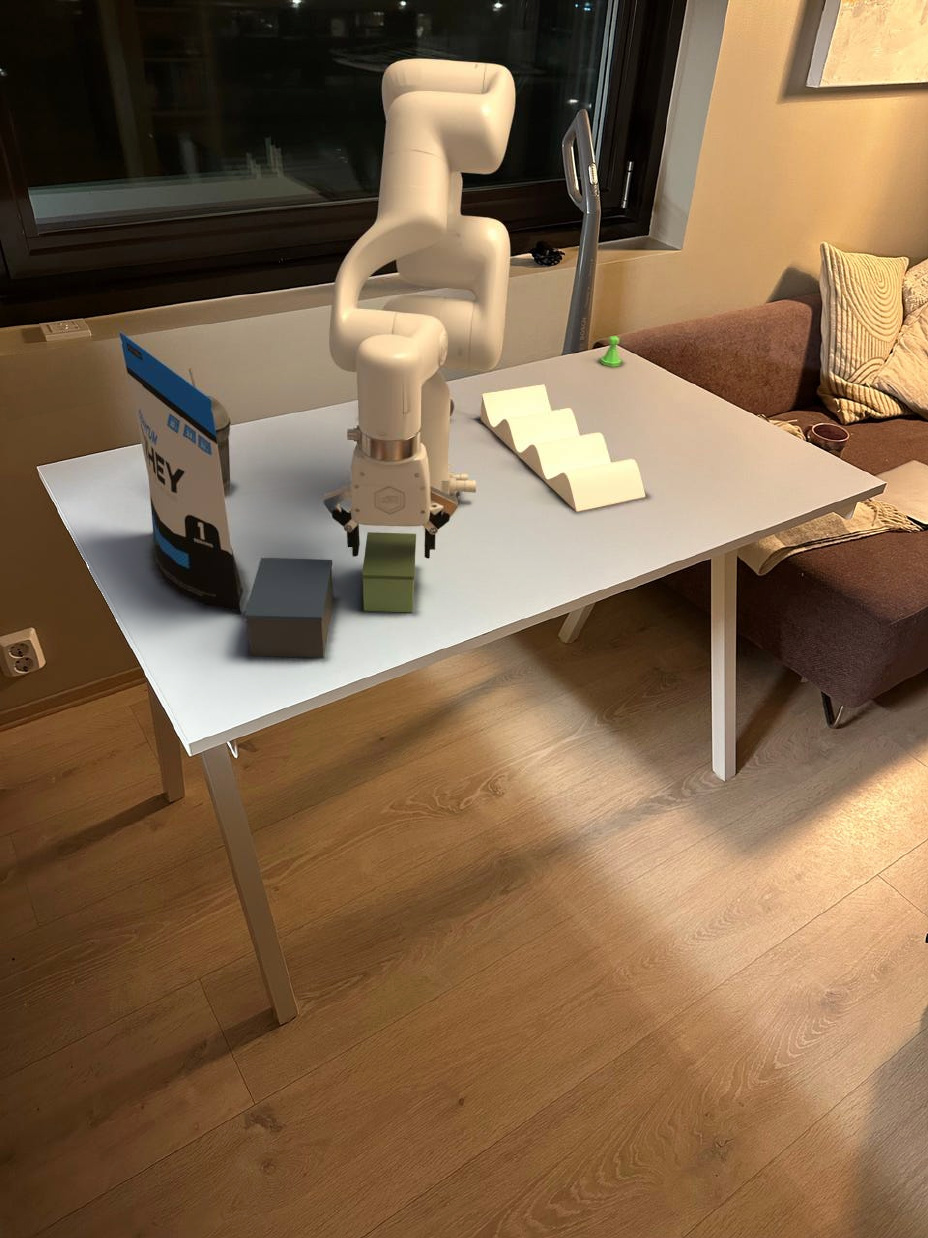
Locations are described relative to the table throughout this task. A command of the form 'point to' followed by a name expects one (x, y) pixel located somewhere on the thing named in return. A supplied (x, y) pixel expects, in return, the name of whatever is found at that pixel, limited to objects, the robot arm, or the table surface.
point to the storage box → (290, 607)
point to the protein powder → (183, 482)
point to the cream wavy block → (560, 449)
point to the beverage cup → (220, 436)
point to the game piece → (611, 353)
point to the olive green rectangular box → (389, 572)
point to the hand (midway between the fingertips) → (391, 551)
